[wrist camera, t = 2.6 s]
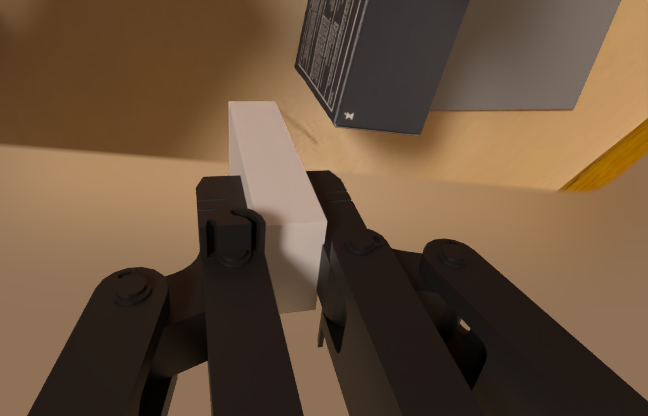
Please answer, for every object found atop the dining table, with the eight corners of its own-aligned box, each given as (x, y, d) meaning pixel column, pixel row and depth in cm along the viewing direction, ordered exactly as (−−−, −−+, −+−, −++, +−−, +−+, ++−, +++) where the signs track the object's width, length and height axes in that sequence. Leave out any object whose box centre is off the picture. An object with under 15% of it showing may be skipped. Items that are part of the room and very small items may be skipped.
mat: (387, 108, 40) (388, 110, 39) (431, -120, 31) (434, -120, 30) (570, 107, 45) (573, 109, 45) (655, -89, 36) (659, -89, 35)
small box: (369, 81, 38) (424, 141, 30) (292, 69, 36) (328, 131, 28) (412, -65, 32) (494, -41, 24) (324, -90, 30) (381, -73, 22)
